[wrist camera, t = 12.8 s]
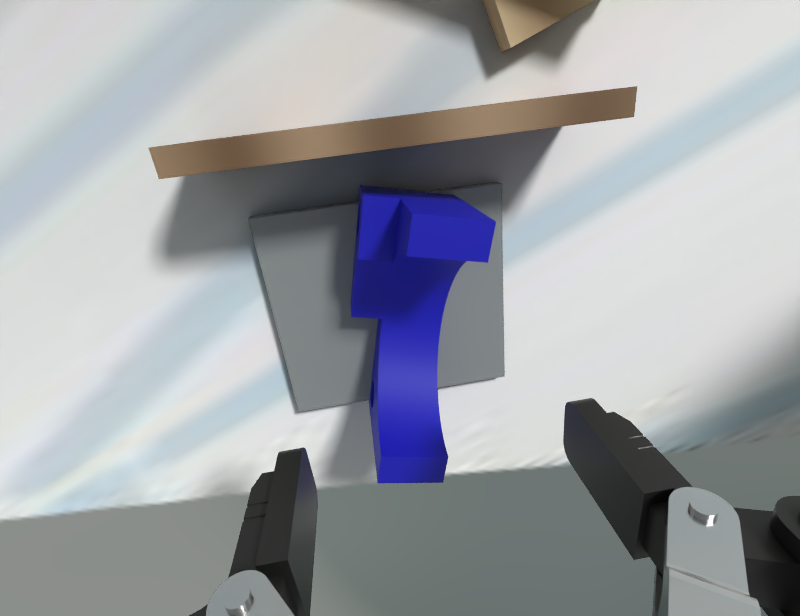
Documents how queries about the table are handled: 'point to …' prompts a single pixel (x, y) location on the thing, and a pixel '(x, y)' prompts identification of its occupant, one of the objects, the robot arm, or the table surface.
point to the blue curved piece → (410, 316)
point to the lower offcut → (526, 17)
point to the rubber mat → (355, 337)
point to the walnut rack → (391, 132)
